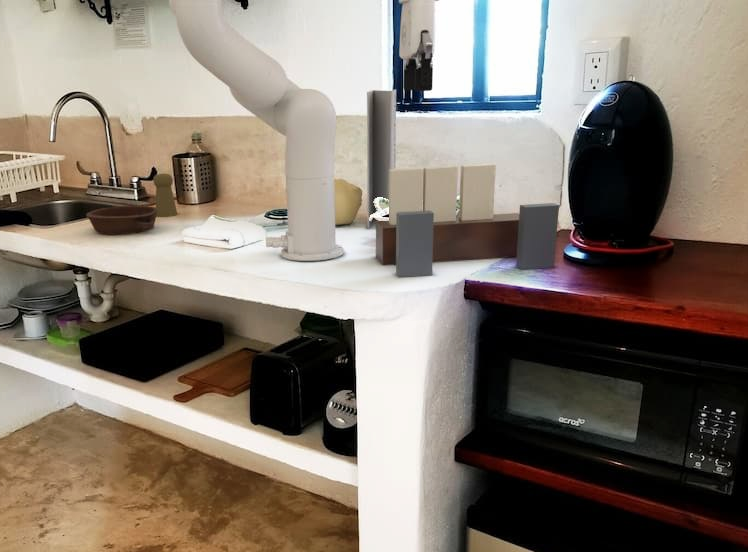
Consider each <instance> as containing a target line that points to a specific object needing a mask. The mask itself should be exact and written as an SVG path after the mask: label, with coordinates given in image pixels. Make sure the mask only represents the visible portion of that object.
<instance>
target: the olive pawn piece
mask: <svg viewBox="0 0 748 552" xmlns="http://www.w3.org/2000/svg"><path fill="white" fill-rule="evenodd" d="M152 181H153V184H154V186H155V207H156V208H158V212H157V214H156V217H159V218H161V217H162V218H165V217H166V218H167V217H173V216H177V215H178V210H177V206H176V202H175V197H174V192H173V189H172V186H173V181H174V180H173V177H172V175H171V174H170V173H158V174H155V175H154V176H153V180H152Z"/></svg>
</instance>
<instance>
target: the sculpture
mask: <svg viewBox="0 0 748 552" xmlns="http://www.w3.org/2000/svg"><path fill="white" fill-rule="evenodd" d="M334 193H335V226H339V225H349V224H351V223H353V221H355V219H356V217H357V215H358V213H359V210H360V208H361V207H362V204H363V198H362V196H363V190H362V188H360V187H359V186H357V185H355V184H352V183H349V182H348V181H347V180H346V179H343V178H338V179H336V178H334Z"/></svg>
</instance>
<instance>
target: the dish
mask: <svg viewBox="0 0 748 552" xmlns="http://www.w3.org/2000/svg"><path fill="white" fill-rule="evenodd" d="M157 212H158V208H156V206H149V205H120V206H112V207H104V208H102V207H101V208H98V209H94V210H92V211H89V212H87V213H86V214H85V216H86V218H87V219H88V220H89V221H90V223H91V225H92V228H93V229H94V230H95V231H96V232H97V233H100V234H105V235H125V234H134V233H141V232H144V231H151V230H153V229H154V228H155V223H156V219H157V216H156V214H157Z"/></svg>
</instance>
